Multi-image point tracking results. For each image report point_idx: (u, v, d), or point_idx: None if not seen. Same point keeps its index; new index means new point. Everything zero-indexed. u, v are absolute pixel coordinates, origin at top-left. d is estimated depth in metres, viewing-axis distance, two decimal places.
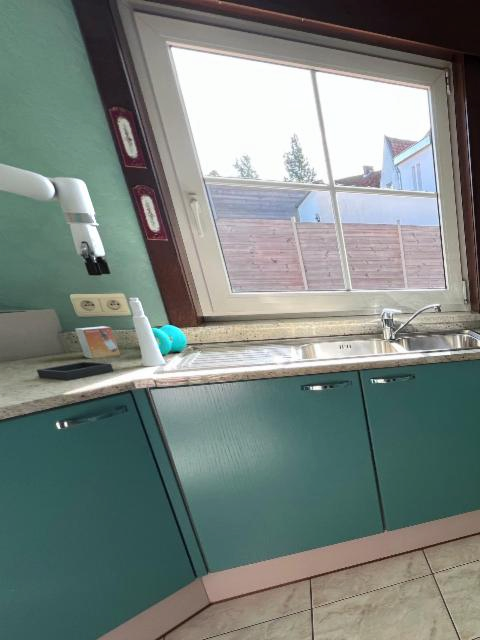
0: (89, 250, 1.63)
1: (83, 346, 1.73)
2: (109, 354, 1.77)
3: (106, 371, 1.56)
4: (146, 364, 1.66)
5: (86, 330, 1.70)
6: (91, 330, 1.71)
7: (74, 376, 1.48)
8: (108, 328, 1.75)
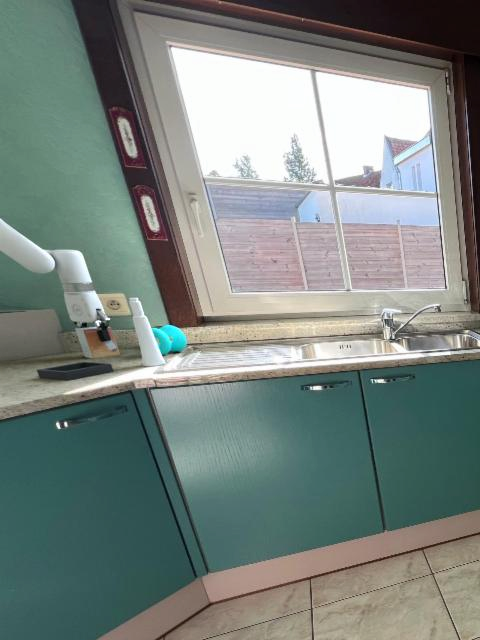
0: (97, 316, 1.72)
1: (83, 346, 1.73)
2: (109, 354, 1.77)
3: (106, 371, 1.56)
4: (146, 364, 1.66)
5: (86, 330, 1.70)
6: (91, 330, 1.71)
7: (74, 376, 1.48)
8: None
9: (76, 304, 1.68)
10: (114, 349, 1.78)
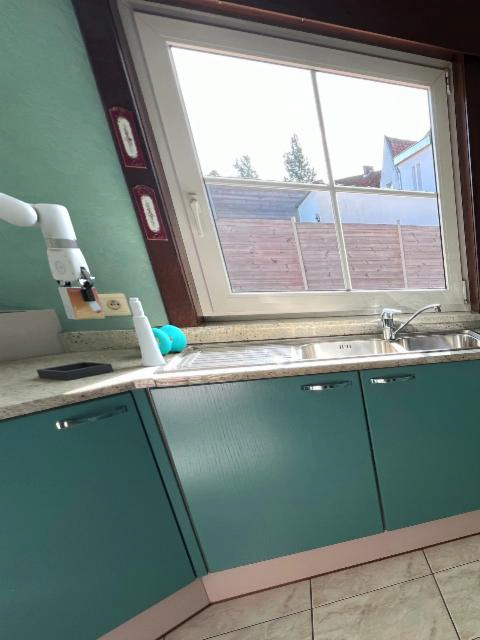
0: (81, 275, 1.66)
1: (66, 306, 1.67)
2: (93, 315, 1.71)
3: (106, 371, 1.56)
4: (146, 364, 1.66)
5: (69, 289, 1.64)
6: (74, 289, 1.66)
7: (74, 376, 1.48)
8: (93, 288, 1.70)
9: (59, 261, 1.62)
10: (98, 310, 1.72)
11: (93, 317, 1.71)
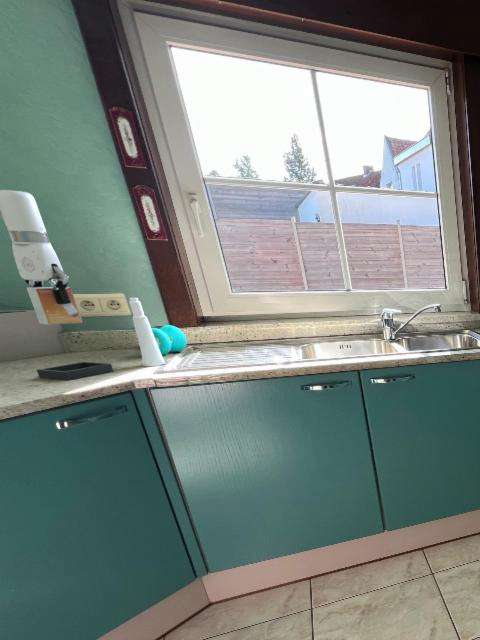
0: (53, 273, 1.44)
1: (37, 309, 1.45)
2: (68, 320, 1.49)
3: (106, 371, 1.56)
4: (146, 364, 1.66)
5: (40, 289, 1.43)
6: (46, 290, 1.44)
7: (74, 376, 1.48)
8: (67, 288, 1.48)
9: (27, 257, 1.40)
10: (75, 314, 1.50)
11: (69, 322, 1.49)
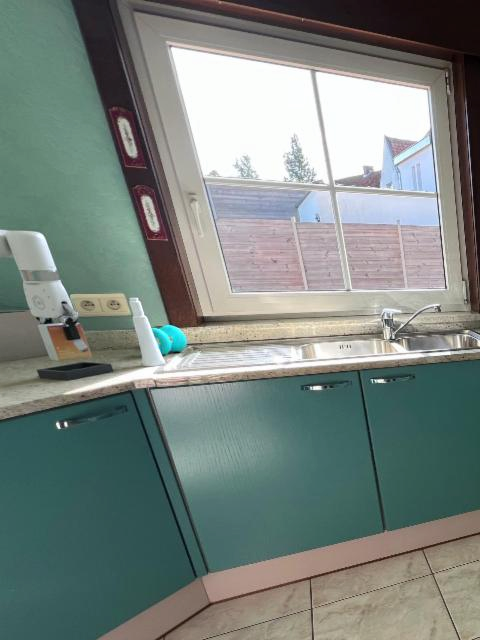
0: (63, 310, 1.46)
1: (47, 346, 1.47)
2: (78, 355, 1.51)
3: (106, 371, 1.56)
4: (146, 364, 1.66)
5: (50, 327, 1.44)
6: (56, 327, 1.45)
7: (74, 376, 1.48)
8: (77, 324, 1.49)
9: (37, 296, 1.42)
10: (85, 349, 1.52)
11: (79, 357, 1.51)
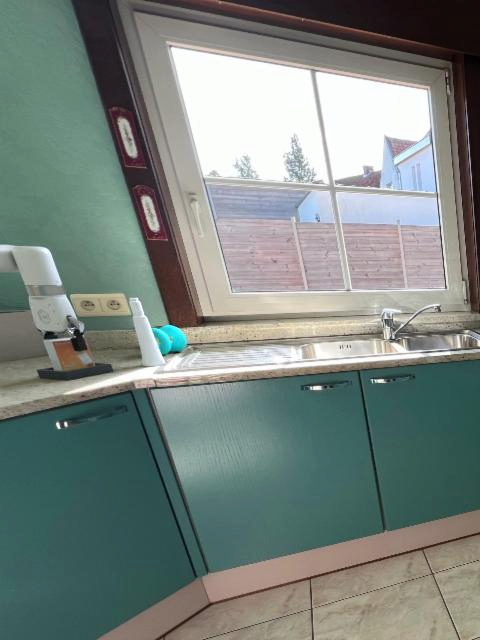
0: (68, 324, 1.47)
1: (53, 360, 1.48)
2: None
3: (106, 371, 1.56)
4: (146, 364, 1.66)
5: (56, 342, 1.46)
6: (62, 342, 1.47)
7: (74, 376, 1.48)
8: None
9: (43, 310, 1.43)
10: (90, 363, 1.53)
11: None
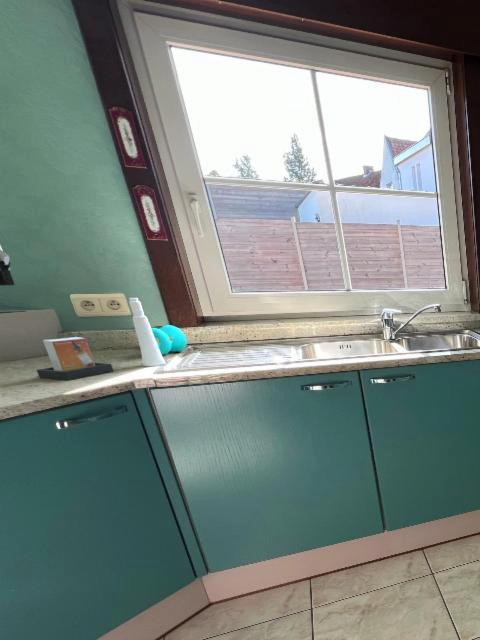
0: None
1: (53, 360, 1.48)
2: None
3: (106, 371, 1.56)
4: (146, 364, 1.66)
5: (56, 342, 1.46)
6: (62, 342, 1.47)
7: (74, 376, 1.48)
8: (82, 339, 1.51)
9: None
10: (90, 363, 1.53)
11: None
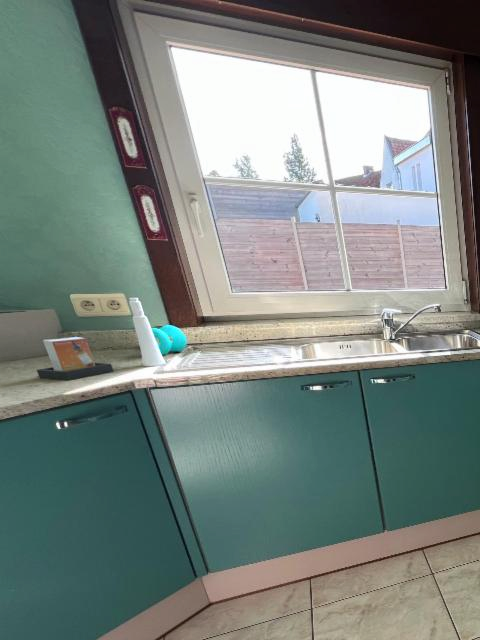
0: None
1: (53, 360, 1.48)
2: None
3: (106, 371, 1.56)
4: (146, 364, 1.66)
5: (56, 342, 1.46)
6: (62, 342, 1.47)
7: (74, 376, 1.48)
8: (82, 339, 1.51)
9: None
10: (90, 363, 1.53)
11: None
